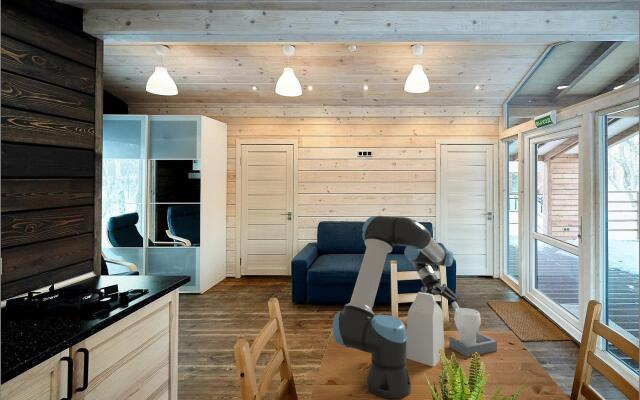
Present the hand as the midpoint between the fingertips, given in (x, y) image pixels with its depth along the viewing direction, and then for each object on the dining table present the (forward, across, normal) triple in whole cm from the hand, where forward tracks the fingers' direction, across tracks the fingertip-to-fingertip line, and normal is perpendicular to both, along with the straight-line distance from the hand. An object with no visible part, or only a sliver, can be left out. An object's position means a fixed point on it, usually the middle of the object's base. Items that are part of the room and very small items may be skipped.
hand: (448, 317), depth 169 cm
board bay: (+17, 0, +5) cm, 18 cm away
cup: (+14, 0, +2) cm, 15 cm away
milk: (+16, +24, +4) cm, 29 cm away
